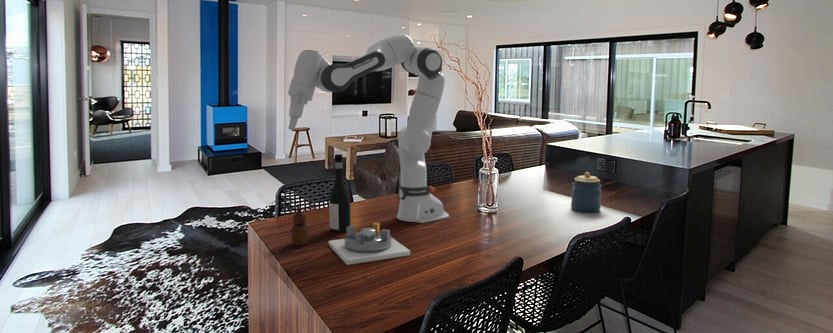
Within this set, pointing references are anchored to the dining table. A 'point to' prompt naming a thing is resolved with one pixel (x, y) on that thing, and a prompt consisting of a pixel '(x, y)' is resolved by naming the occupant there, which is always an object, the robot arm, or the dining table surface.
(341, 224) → the wine bottle
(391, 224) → the dining table surface
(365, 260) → the base plate
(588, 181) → the canister
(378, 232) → the lathe chuck
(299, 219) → the wooden figurine
